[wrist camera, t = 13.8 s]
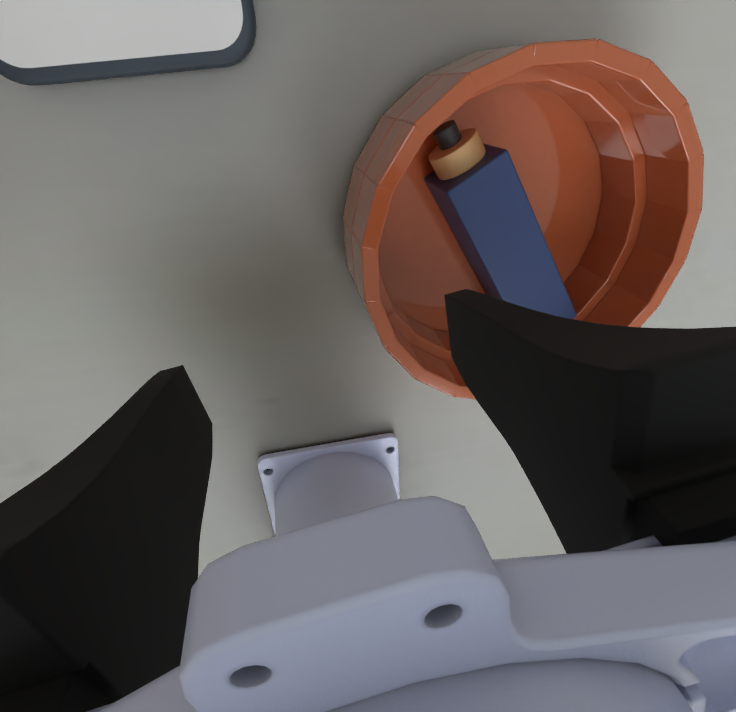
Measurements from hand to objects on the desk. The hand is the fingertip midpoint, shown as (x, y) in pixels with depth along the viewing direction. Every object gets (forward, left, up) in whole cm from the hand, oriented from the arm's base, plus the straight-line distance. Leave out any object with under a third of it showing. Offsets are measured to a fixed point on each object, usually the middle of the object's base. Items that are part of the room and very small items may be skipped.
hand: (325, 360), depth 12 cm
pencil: (0, -9, -9) cm, 12 cm away
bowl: (0, -9, -9) cm, 13 cm away
